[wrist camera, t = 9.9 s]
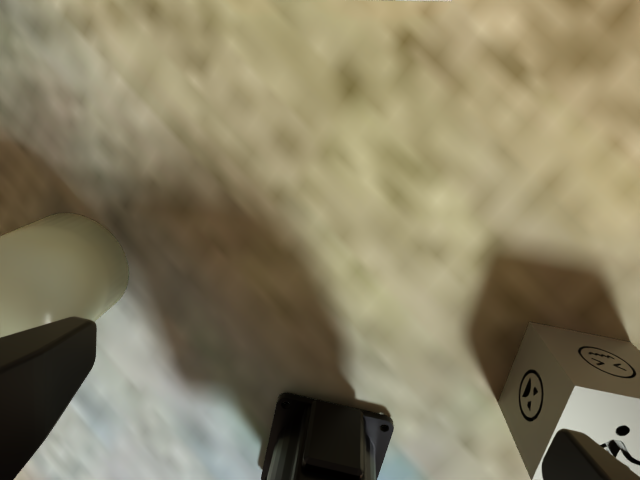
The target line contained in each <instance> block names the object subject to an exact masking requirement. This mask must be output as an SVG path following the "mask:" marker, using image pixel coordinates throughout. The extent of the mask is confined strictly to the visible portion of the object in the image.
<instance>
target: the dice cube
mask: <svg viewBox="0 0 640 480" xmlns="http://www.w3.org/2000/svg"><path fill="white" fill-rule="evenodd" d="M498 404H499V406H500V409H501V411H502V413H503V416H504V418H505V420H506V423H507V425H508V427H509V429H510V432H511V434H512V436H513V439H514V441H515V443H516V446H517V448H518V450H519V453H520V455H521V457H522V460H523V462H524V464H525V467H526V469H527V471H528V474H529V476H530V478H531V480H543V477H542V469H541V467H542V461H543V458H544V456H545V454H546V452H547V450H548V448H549V446H550V444H551V442H552V440H553V438H554V436H555V434H556V433H557V431H559V430H560V429H563V428H564V429H569V430H574V431H578V432H582V433H584V434H586V435H588V436H589V437H590V438H591V439H593V440H594V441H595V442H596V443H598V444H599V445H600V446H601V447H603V448H604V449H605V450H606V451H608V452H609V453H610V454H612V455H613V456H614V457H615V458H617V459H618V460H619V461H620V462H622V463H623V464H624V465H625V466H627V467H628V468H629V469H630V470H632V471H633V472H634V473H635V474H637V475H638V476H639V477H640V351H639V350H638V349H637V348H636V347H635V346H634V345H633V344H632V343H631V342H628V341H623V340H618V339H613V338H608V337H603V336H598V335H593V334H588V333H583V332H578V331H573V330H568V329H563V328H558V327H553V326H548V325H543V324H538V323H533V322H529V324H528V327H527V329H526V332H525V334H524V337H523V339H522V342H521V345H520V347H519V350H518V352H517V355H516V357H515V360H514V362H513V365H512V368H511V370H510V373H509V375H508V378H507V380H506V383H505V386H504V388H503V391H502V393H501V396H500V398H499V401H498Z"/></svg>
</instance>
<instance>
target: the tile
mask: <svg viewBox="0 0 640 480" xmlns="http://www.w3.org/2000/svg"><path fill="white" fill-rule="evenodd" d="M398 1H452V0H398Z"/></svg>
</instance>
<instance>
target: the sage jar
mask: <svg viewBox="0 0 640 480" xmlns="http://www.w3.org/2000/svg"><path fill="white" fill-rule="evenodd" d="M128 278H129V269H128V263H127V259H126V256H125V254H124V252H123V250H122V248H121V246H120V244H119V243H118V241H117V240H116V239H115V237H114V236H113V235H112V234H111V233H110V232H109V231H108V230H107V229H105V228H104V227H103V226H102V225H100V224H99V223H97V222H95V221H94V220H92V219H89V218H87V217H85V216H81V215H78V214H72V213H59V214H54V215H50V216H48V217H45V218H43V219H40V220H38V221H36V222H33V223H31V224H28V225H26V226H23V227H21V228H19V229H16V230H14V231H11V232H9V233H7V234H4V235H2V236H0V337H4V336H7V335H11V334H14V333H17V332H21V331H24V330H28V329H31V328H34V327H38V326H41V325H44V324H48V323H51V322H55V321H58V320H61V319H65V318H68V317H72V316H76V317H81V318H85V319H89V320H93V321H94V322H95V321H96V320H97V319H98V318H99V317H101V316H102V315H103V314H104V313H105V312H106V311H107V310H109V309H110V308H111V307H112V306H113V305H114V304H115V303H117V301H118V300H119V299H120V298H121V297H122V295H123V294H124V292H125V290H126V287H127V284H128Z"/></svg>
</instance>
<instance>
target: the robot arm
mask: <svg viewBox="0 0 640 480" xmlns="http://www.w3.org/2000/svg"><path fill="white" fill-rule="evenodd" d="M96 332H97V328H96V324H95V322H94V321H93V320H89V319H85V318H81V317H76V316H72V317H68V318H65V319H61V320H58V321H55V322H51V323H48V324H44V325H41V326H38V327H34V328H31V329H28V330H24V331H21V332H17V333H14V334H11V335H7V336H4V337H0V480H13V479H14V478H15V477H16V476H17V474H18V473H19V472H20V471H21V469H22V468H23V467H24V466H25V464H26V463H27V462H28V461H29V459H30V458H31V457H32V456H33V454H34V453H35V452H36V451H37V449H38V448H39V447H40V445H41V444H42V443H43V442H44V440H45V439H46V438H47V436H48V435H49V433H50V432H51V430H52V429H53V427H54V426H55V424H56V423H57V421H58V420H59V418H60V417H61V415H62V414H63V412H64V411H65V409H66V407H67V406H68V404H69V403H70V401H71V400H72V398H73V397H74V395H75V394H76V392H77V391H78V389H79V388H80V386H81V384H82V383H83V381H84V380H85V378H86V377H87V375H88V374H89V372H90V371H91V369H92V367H93V365H94V362H95V358H96ZM284 401H286V402H289V404H285V403H283V402H284ZM383 424H386V425H387V426H381V425H383ZM393 429H394V426H393V421H392V419H391V418H390V417H388V416H385V415H381V414H377V413H372V412H368V411H364V410H359V409H355V408H351V407H346V406H342V405H338V404H333V403H329V402H325V401H320V400H316V399H312V398H307V397H303V396H299V395H294V394H290V393H283V394H281V395H280V396H279V397H278V400H277V404H276V409H275V414H274V419H273V423H272V428H271V433H270V438H269V442H268V447H267V452H266V457H265V461H264V466H263V471H262V476H261V480H377V478H378V475H379V472H380V469H381V466H382V463H383V460H384V457H385V454H386V451H387V448H388V445H389V442H390V439H391V436H392V433H393ZM541 469H542V477H543V480H640V477H639V476H638V475H637V474H635V473H634V472H633V471H632V470H630V469H629V468H628V467H627V466H625V465H624V464H623V463H622V462H620V461H619V460H618V459H617V458H615V457H614V456H613V455H612V454H610V453H609V452H608V451H606V450H605V449H604V448H603V447H601V446H600V445H599V444H598V443H596V442H595V441H594V440H593V439H591V438H590V437H589V436H588V435H586V434H584V433H582V432H578V431H574V430H569V429H564V428H563V429H560V430H559V431H557V433H556V434H555V436H554V438H553V440H552V442H551V444H550V446H549V448H548V450H547V452H546V454H545V456H544V458H543V461H542V467H541Z"/></svg>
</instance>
